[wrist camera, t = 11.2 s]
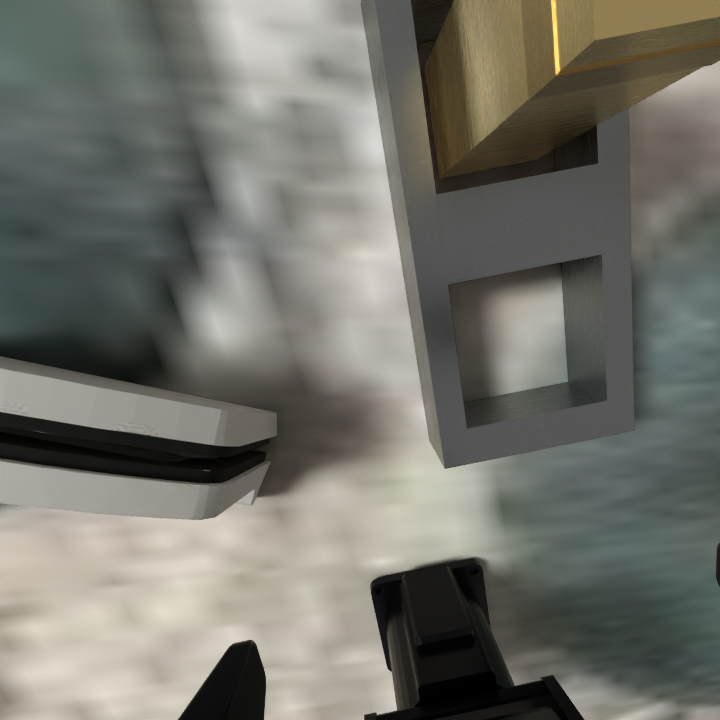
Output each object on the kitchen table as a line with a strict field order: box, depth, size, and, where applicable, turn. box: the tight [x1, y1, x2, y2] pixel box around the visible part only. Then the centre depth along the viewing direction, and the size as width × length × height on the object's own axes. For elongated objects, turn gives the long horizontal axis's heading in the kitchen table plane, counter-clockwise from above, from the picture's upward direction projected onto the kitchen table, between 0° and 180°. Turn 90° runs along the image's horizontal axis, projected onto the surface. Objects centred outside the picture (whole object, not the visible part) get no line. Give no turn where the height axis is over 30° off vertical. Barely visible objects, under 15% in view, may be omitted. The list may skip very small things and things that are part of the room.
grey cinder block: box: [361, 0, 635, 469], centre depth 17 cm, size 20×9×3 cm, turn 11°
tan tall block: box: [425, 0, 720, 179], centre depth 12 cm, size 5×5×11 cm
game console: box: [0, 356, 277, 520], centre depth 15 cm, size 17×5×10 cm, turn 76°
